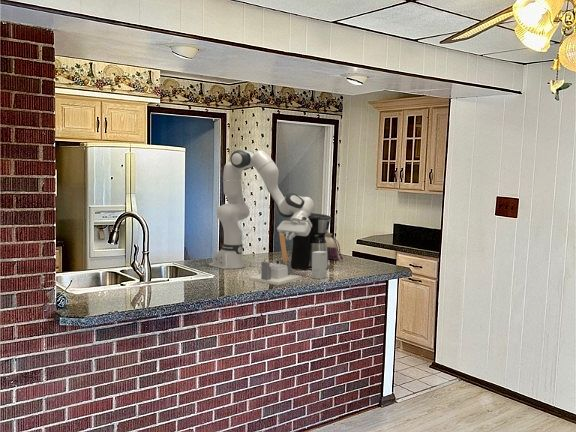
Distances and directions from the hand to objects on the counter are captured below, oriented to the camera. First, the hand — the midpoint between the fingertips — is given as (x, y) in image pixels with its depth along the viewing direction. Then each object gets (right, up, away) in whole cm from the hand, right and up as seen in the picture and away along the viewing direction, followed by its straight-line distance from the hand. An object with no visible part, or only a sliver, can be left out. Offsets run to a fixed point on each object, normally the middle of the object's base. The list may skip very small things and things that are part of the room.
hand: (287, 239), depth 306 cm
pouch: (+27, -17, +65) cm, 72 cm away
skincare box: (+18, -22, +2) cm, 28 cm away
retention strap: (-3, -5, -3) cm, 7 cm away
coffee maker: (+11, -19, +35) cm, 41 cm away
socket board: (-7, -22, -7) cm, 24 cm away
